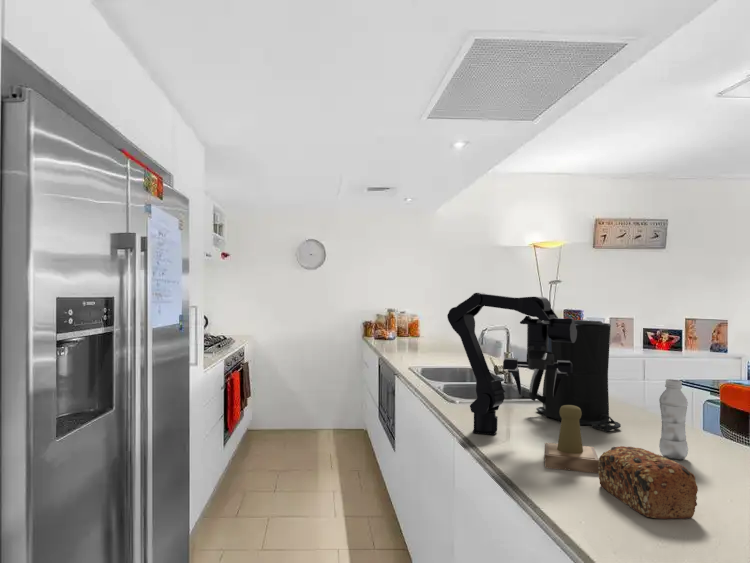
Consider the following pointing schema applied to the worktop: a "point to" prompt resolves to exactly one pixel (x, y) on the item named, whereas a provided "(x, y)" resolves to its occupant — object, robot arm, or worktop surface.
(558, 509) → the worktop surface
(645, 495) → the bread
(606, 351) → the coffee maker
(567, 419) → the cork
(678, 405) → the plastic bottle
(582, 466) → the plate
